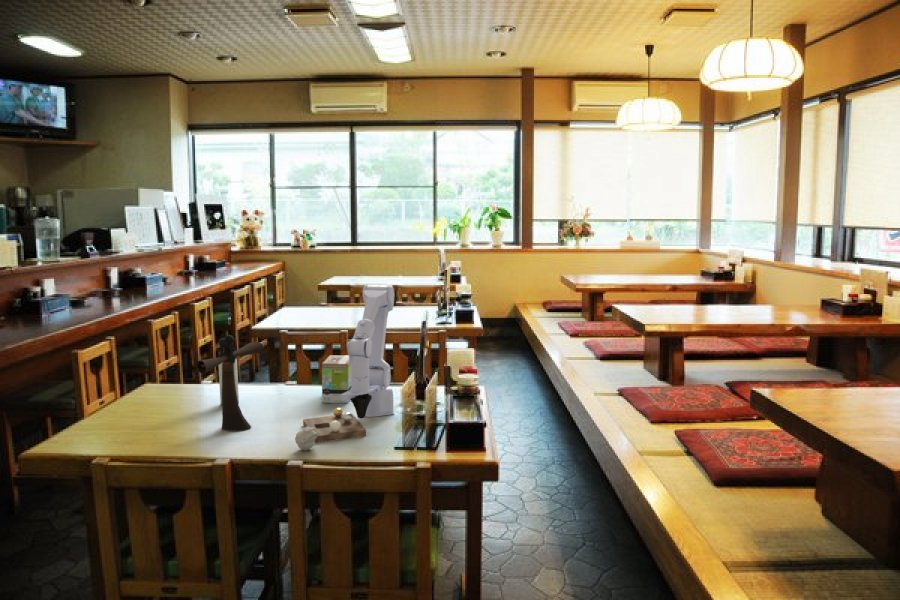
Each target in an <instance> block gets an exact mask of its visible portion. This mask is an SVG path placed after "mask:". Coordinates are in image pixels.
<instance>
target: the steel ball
mask: <svg viewBox="0 0 900 600" xmlns="http://www.w3.org/2000/svg"><path fill="white" fill-rule="evenodd" d="M343 414H344V415H343V421H344V422H346V423H349V422H351V421H352V419H353V416H352V414H353V413H352V414H351V412H345V413H343Z"/></svg>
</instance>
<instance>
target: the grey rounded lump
mask: <svg viewBox="0 0 900 600" xmlns="http://www.w3.org/2000/svg"><path fill="white" fill-rule="evenodd" d="M317 436H318V434H317V432H316V431H315V429H314V427H311V428H310V427H303V428H302V429H300V430H299V431H297V433H296V434H295V437H294V439H295V443H296V445H297V447H298V449H299V450H301V451H305V452H306V451H310V450H311V449H313V447H314V445H315V444H316V443H315V439H316V438H317Z"/></svg>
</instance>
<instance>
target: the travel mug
mask: <svg viewBox="0 0 900 600" xmlns="http://www.w3.org/2000/svg"><path fill="white" fill-rule="evenodd" d="M232 351H233V352H235V351H237V348H235V347H232ZM220 352H221V350H220V351H218V352H217V357H221V355H220ZM222 353H223V352H222ZM223 355H224V353H223V354H222V356H223ZM237 357H238V356H237ZM237 357H235V364H234V363H233V364H234V377H235V387H236V393H237V399H238V404H240V399H239V398H240V397H239V379H238V378H239V377H238V359H237ZM218 381H219V397H220V398H219V399H220V406H221V407H222V363H221V364H219V365H218Z"/></svg>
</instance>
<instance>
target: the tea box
mask: <svg viewBox="0 0 900 600" xmlns="http://www.w3.org/2000/svg"><path fill="white" fill-rule="evenodd" d="M351 388H352V387H351V363H350V362H349V355H348V354H346V355H340V354H339V355H337V354H335V355H333V354H332V355H331V354H329V356H328V357H327V358H325V360H323V362H322V363H321V401H322V402H321V403H322V404H325V403H326V404H349V402H350V401H351V400H350V399H348V400H347V401H343V400H341V394H342V393H345V392H347V391H349V390H351Z"/></svg>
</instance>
